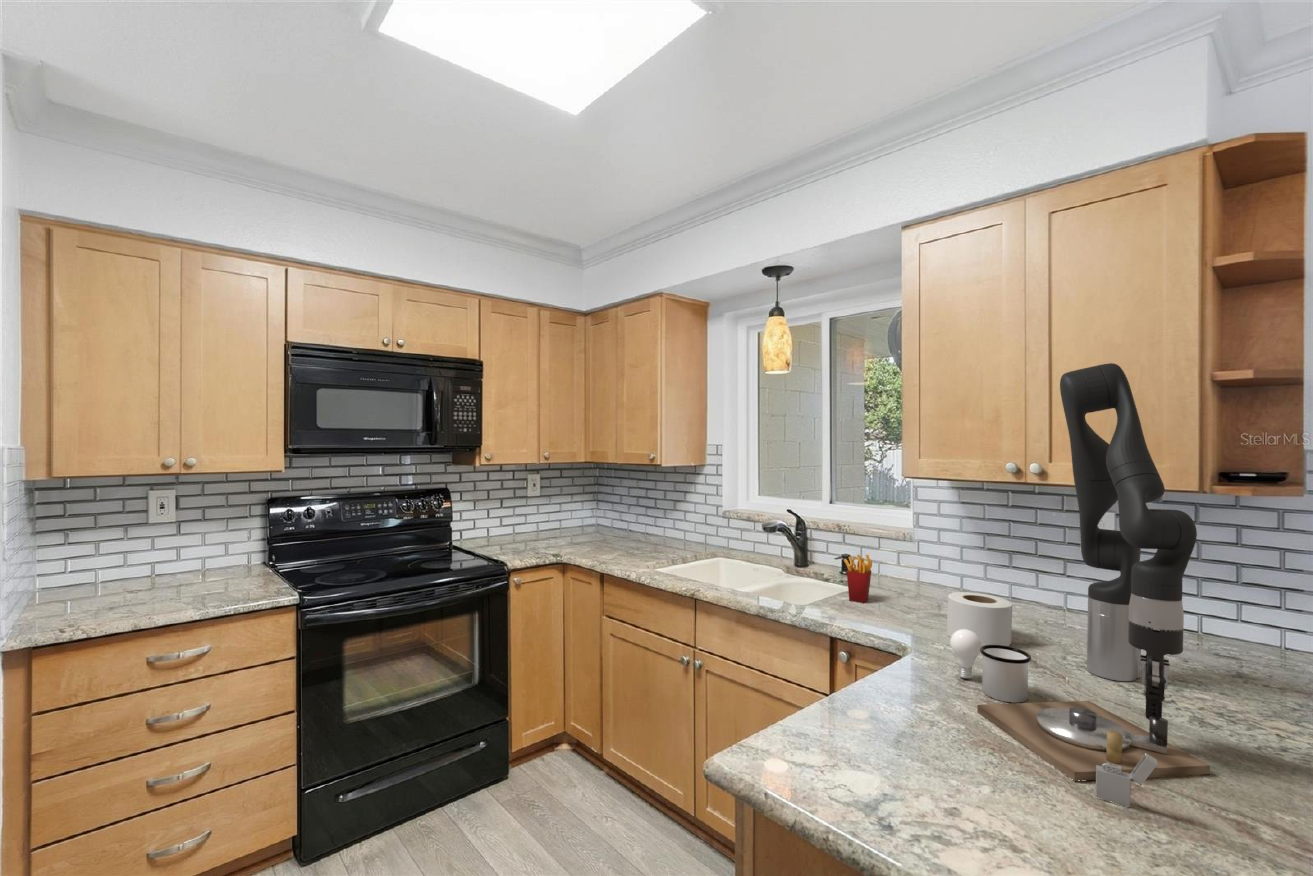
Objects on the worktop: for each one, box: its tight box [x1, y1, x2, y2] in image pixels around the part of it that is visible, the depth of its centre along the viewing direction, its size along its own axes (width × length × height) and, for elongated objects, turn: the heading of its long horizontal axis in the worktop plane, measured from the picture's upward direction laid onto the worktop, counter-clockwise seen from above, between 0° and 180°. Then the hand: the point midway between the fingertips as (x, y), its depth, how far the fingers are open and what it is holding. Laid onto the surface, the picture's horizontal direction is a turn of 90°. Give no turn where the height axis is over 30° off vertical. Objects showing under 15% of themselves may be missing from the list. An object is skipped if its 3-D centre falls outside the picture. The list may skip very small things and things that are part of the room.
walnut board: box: [976, 700, 1211, 782], centre depth 109 cm, size 24×24×6 cm
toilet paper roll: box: [946, 591, 1013, 647], centre depth 165 cm, size 16×15×11 cm
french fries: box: [843, 554, 873, 604], centre depth 202 cm, size 9×8×15 cm
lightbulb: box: [949, 629, 982, 680], centre depth 136 cm, size 6×6×11 cm
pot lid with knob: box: [1037, 707, 1169, 754], centre depth 108 cm, size 19×14×5 cm
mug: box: [980, 645, 1032, 704], centre depth 129 cm, size 12×10×9 cm
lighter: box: [1095, 753, 1158, 808], centre depth 90 cm, size 7×2×8 cm, turn 55°
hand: (1153, 719), depth 108 cm, fingers closed
